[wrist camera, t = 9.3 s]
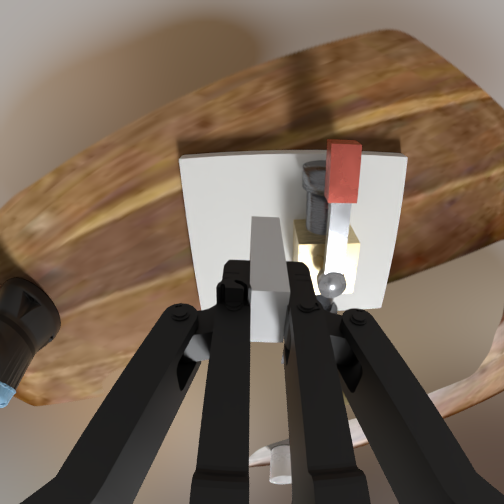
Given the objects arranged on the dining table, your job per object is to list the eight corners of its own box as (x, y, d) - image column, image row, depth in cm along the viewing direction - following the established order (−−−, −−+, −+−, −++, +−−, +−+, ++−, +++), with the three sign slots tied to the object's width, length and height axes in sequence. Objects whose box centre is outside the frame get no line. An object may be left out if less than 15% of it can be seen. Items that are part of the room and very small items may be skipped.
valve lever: (341, 287, 37) (345, 298, 35) (314, 288, 37) (317, 299, 35) (357, 140, 28) (364, 145, 26) (324, 139, 28) (329, 143, 26)
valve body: (290, 308, 48) (294, 345, 42) (293, 160, 37) (301, 180, 30) (336, 306, 48) (346, 342, 42) (351, 160, 37) (371, 181, 30)
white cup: (303, 447, 78) (305, 477, 69) (286, 456, 81) (287, 485, 73) (280, 442, 76) (280, 474, 67) (263, 451, 79) (263, 481, 71)
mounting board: (204, 306, 51) (202, 314, 49) (182, 155, 39) (178, 159, 37) (377, 300, 50) (380, 307, 48) (401, 153, 38) (407, 157, 36)
